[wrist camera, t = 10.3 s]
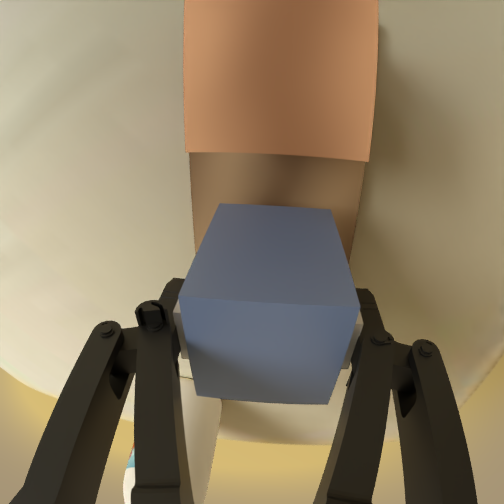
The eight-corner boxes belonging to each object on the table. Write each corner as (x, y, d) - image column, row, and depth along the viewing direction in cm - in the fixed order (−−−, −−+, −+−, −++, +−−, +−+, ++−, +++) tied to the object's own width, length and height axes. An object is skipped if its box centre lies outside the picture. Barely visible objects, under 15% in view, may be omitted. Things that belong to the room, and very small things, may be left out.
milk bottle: (197, 368, 28) (148, 570, 11) (236, 409, 32) (210, 579, 15) (140, 379, 31) (83, 544, 14) (180, 416, 34) (144, 563, 17)
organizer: (201, 277, 23) (166, 376, 15) (192, 11, 14) (122, -35, 6) (339, 286, 22) (360, 388, 14) (370, 19, 13) (440, -22, 5)
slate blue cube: (222, 291, 19) (196, 395, 13) (219, 203, 16) (177, 295, 10) (317, 297, 19) (327, 404, 13) (330, 209, 16) (360, 306, 10)
